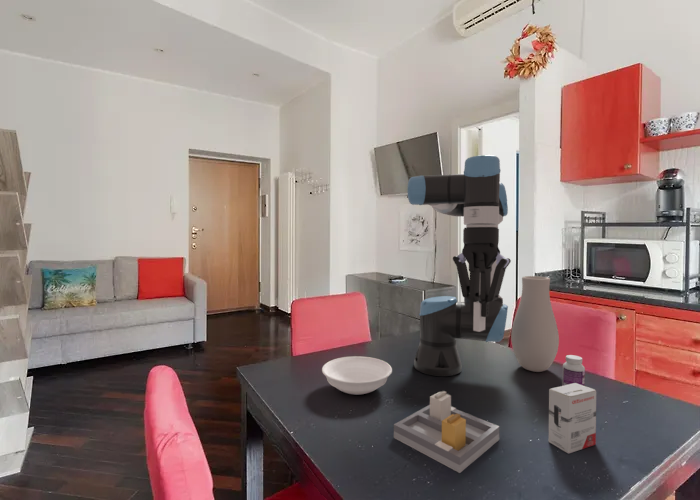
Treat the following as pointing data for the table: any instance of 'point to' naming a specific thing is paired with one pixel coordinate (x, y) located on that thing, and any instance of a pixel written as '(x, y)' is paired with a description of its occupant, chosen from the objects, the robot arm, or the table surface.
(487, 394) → the table surface
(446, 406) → the ivory tab
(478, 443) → the frame
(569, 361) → the pill bottle
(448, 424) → the amber tab
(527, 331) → the vase
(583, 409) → the ink box
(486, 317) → the robot arm
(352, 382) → the bowl
